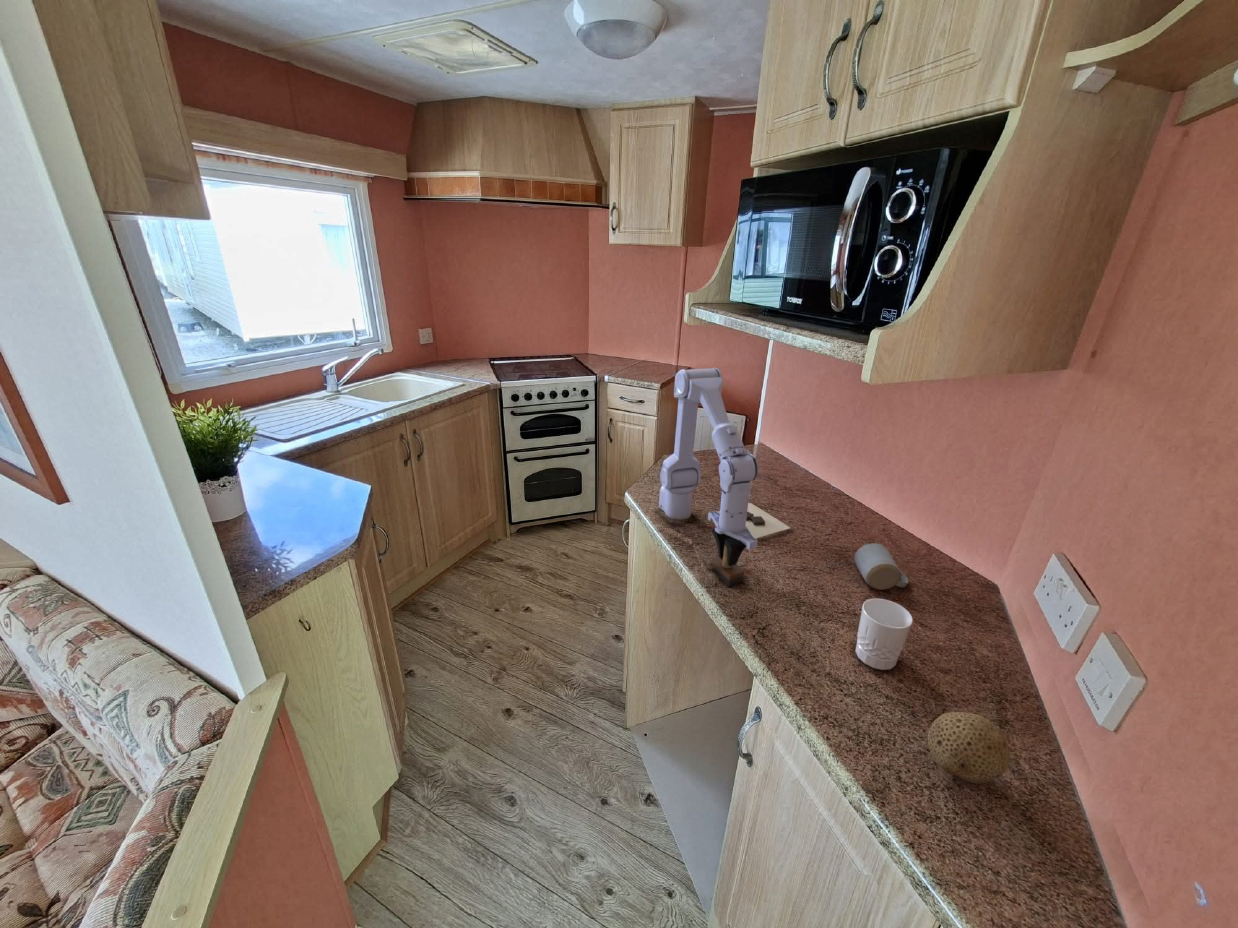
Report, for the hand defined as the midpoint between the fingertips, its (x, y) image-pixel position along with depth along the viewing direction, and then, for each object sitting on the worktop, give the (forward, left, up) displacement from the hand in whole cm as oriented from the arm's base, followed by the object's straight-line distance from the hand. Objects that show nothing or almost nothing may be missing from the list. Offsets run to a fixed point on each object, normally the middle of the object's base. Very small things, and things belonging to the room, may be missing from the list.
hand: (727, 560), depth 111 cm
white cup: (+32, +9, -4) cm, 33 cm away
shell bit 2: (-14, +21, -3) cm, 26 cm away
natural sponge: (+52, 0, -4) cm, 52 cm away
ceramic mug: (+17, +30, -4) cm, 35 cm away
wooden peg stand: (0, 0, -4) cm, 4 cm away
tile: (-16, +21, -4) cm, 27 cm away
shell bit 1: (-18, +20, -3) cm, 27 cm away
